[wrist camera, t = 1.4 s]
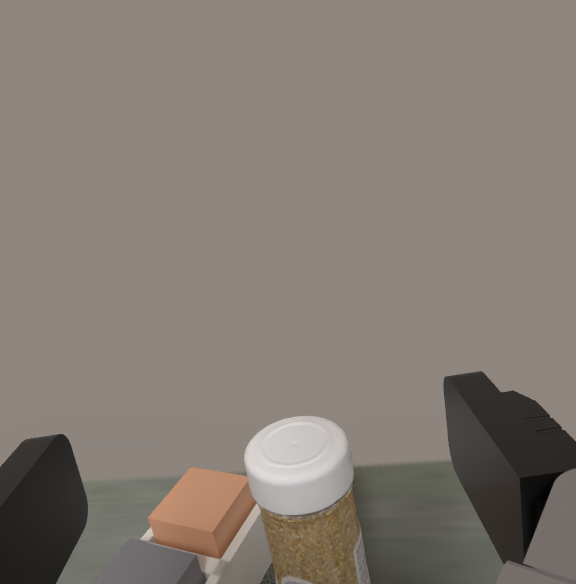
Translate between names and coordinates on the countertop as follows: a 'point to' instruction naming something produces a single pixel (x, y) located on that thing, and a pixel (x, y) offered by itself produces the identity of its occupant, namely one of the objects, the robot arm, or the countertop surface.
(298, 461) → the sprinkles bottle
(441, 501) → the countertop surface
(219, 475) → the key terracotta
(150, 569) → the key charcoal
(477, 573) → the countertop surface
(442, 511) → the countertop surface
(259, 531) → the keypad
